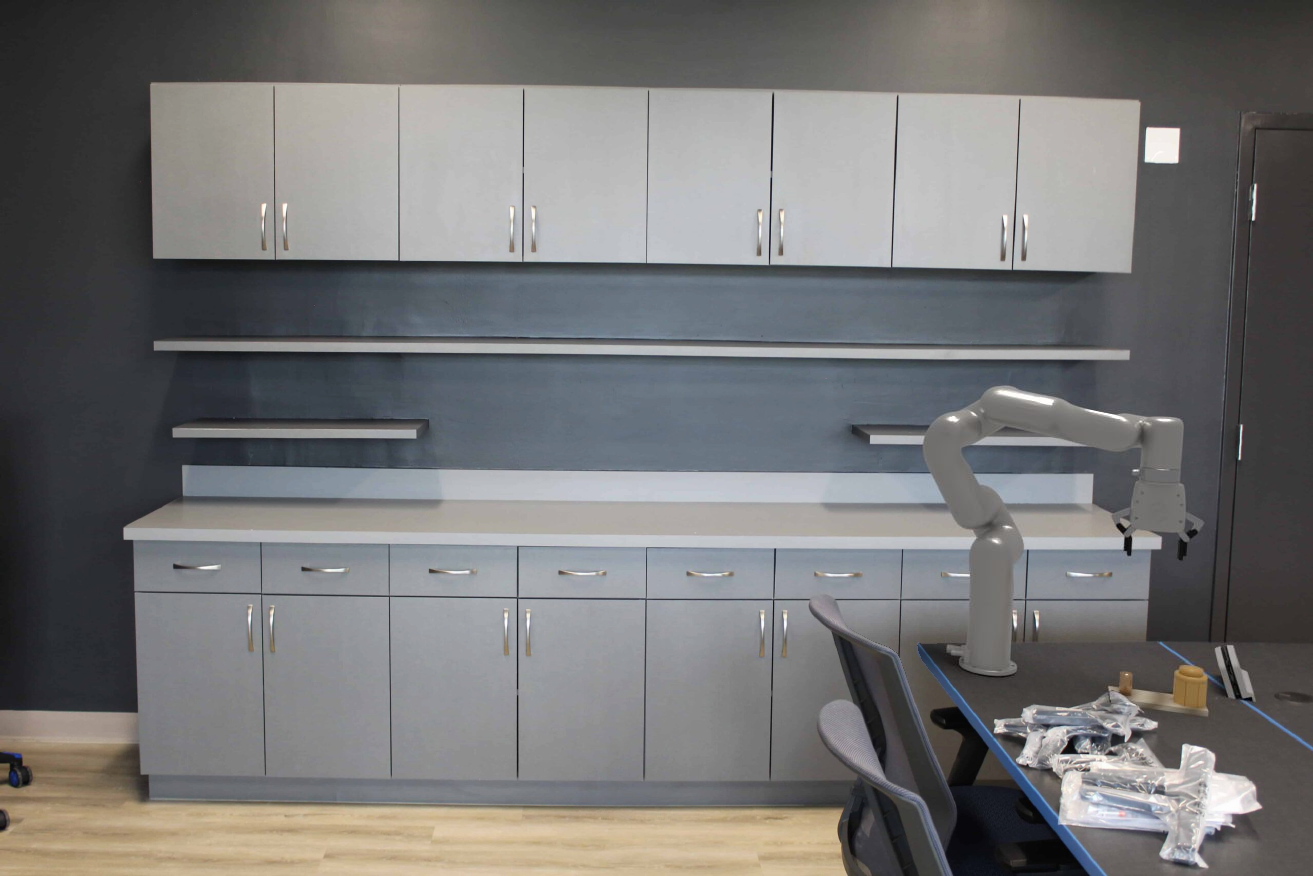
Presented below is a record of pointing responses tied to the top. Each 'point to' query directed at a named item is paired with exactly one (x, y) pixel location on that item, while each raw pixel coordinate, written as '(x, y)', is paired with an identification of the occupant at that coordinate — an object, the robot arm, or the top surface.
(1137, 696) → the plate
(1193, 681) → the cap
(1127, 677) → the post left
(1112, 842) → the top surface
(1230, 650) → the hinge
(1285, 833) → the top surface
